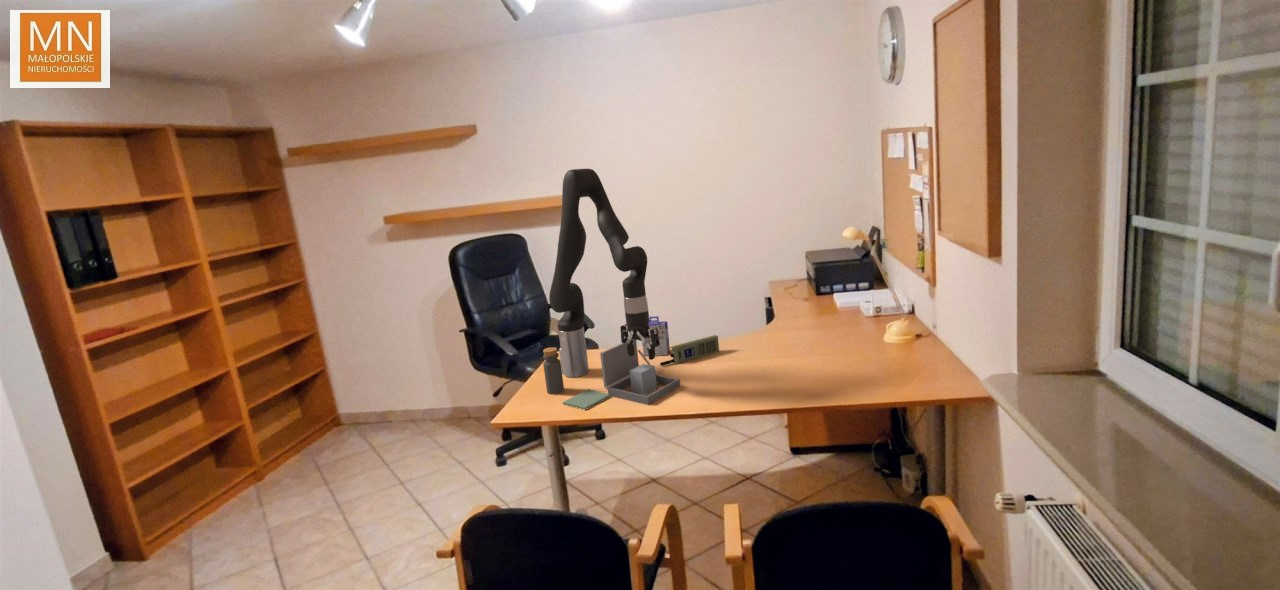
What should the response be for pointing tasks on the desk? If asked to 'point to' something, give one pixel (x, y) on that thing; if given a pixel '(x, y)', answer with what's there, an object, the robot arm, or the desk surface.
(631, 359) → the case
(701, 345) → the handheld radio
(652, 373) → the block
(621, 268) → the robot arm
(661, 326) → the ink cartridge box
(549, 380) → the bottle
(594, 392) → the mat
